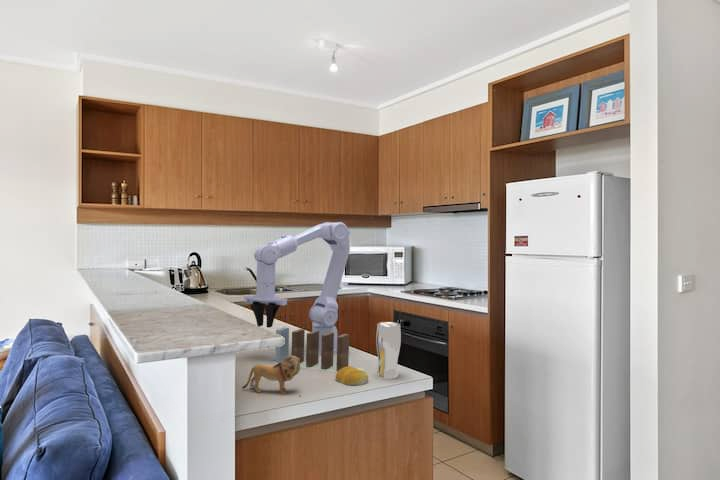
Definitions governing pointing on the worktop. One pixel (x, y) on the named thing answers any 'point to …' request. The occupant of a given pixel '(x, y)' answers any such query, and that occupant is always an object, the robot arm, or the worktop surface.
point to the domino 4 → (327, 350)
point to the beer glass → (388, 349)
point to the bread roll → (351, 376)
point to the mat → (318, 367)
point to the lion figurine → (275, 373)
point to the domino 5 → (342, 351)
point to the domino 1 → (283, 351)
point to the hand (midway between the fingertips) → (264, 326)
